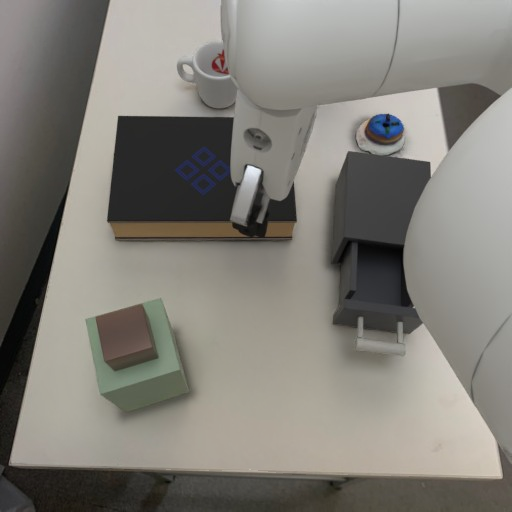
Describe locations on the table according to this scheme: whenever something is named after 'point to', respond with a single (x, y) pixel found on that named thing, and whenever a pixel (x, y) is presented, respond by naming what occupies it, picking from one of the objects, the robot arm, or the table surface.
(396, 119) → the dessert
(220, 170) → the book
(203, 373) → the table surface
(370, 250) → the drawer
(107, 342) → the block
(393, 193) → the cabinet
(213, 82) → the cup
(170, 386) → the block
